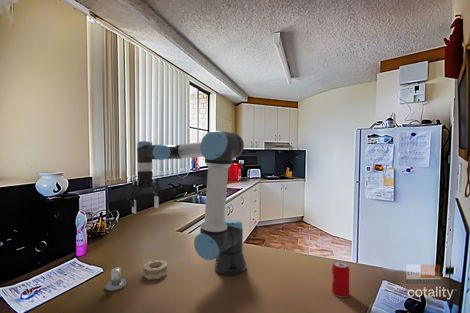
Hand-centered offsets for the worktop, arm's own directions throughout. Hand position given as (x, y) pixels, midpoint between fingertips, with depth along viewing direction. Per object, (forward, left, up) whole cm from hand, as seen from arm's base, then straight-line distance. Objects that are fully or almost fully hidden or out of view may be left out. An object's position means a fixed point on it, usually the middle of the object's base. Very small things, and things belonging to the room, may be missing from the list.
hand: (145, 210), depth 130 cm
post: (-14, +25, -25) cm, 38 cm away
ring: (-19, +9, -25) cm, 33 cm away
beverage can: (-93, -22, -25) cm, 99 cm away
